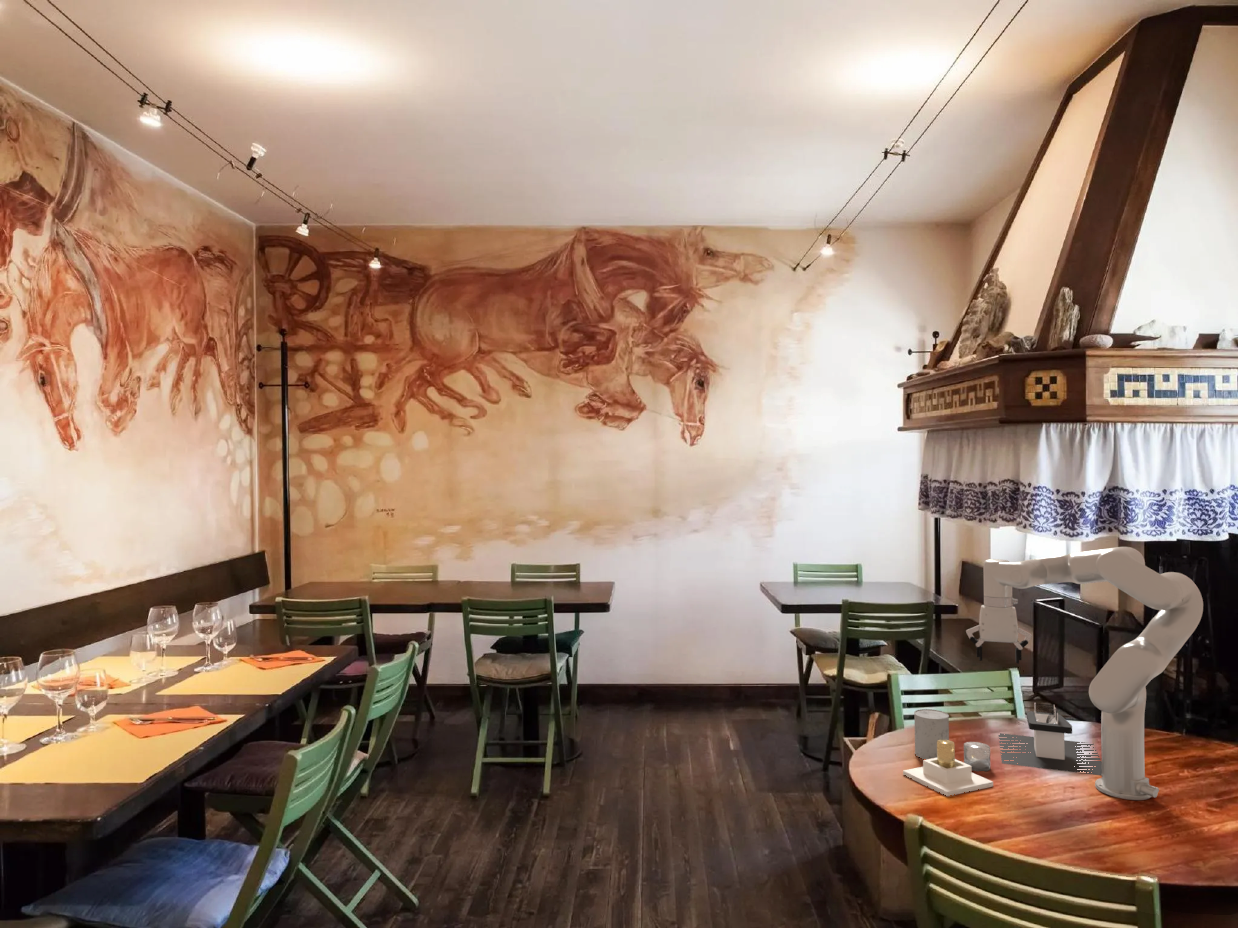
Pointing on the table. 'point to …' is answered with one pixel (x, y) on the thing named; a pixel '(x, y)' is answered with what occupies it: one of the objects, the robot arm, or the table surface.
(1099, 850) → the table surface
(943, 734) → the grey cylinder
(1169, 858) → the table surface
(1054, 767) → the black-topped pedestal
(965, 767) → the flange socket
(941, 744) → the cylinder
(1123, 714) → the robot arm
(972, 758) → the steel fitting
